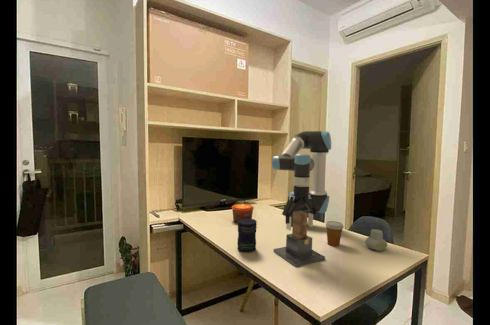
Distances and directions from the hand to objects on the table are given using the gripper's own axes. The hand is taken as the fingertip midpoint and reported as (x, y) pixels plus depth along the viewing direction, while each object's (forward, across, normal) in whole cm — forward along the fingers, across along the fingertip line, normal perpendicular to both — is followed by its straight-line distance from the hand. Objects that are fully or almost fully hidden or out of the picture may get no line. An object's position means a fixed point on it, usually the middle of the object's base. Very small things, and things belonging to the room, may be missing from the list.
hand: (299, 227), depth 128 cm
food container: (+14, 0, +63) cm, 65 cm away
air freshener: (+14, +45, -10) cm, 48 cm away
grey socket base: (+14, 0, 0) cm, 14 cm away
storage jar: (+14, -20, +18) cm, 31 cm away
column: (+12, 0, 0) cm, 12 cm away
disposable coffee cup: (+14, +28, +4) cm, 32 cm away
